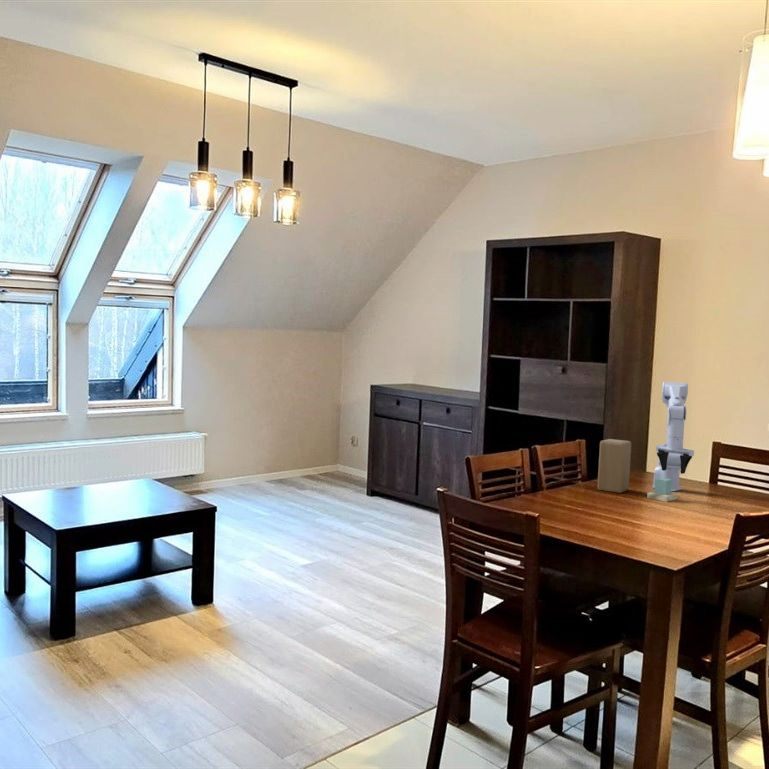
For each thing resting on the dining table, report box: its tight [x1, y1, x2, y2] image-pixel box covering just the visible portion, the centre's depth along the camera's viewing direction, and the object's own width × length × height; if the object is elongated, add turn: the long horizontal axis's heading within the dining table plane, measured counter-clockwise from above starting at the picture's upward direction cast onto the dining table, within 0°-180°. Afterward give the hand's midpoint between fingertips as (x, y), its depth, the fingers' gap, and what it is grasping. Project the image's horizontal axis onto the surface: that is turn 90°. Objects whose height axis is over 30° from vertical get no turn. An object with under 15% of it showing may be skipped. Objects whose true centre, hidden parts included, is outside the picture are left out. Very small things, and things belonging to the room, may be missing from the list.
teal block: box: [653, 478, 672, 495], centre depth 295 cm, size 4×4×6 cm
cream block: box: [646, 490, 678, 502], centre depth 296 cm, size 8×8×2 cm
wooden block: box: [597, 438, 632, 494], centre depth 308 cm, size 10×10×20 cm
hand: (673, 471), depth 296 cm, fingers open, 7 cm apart
